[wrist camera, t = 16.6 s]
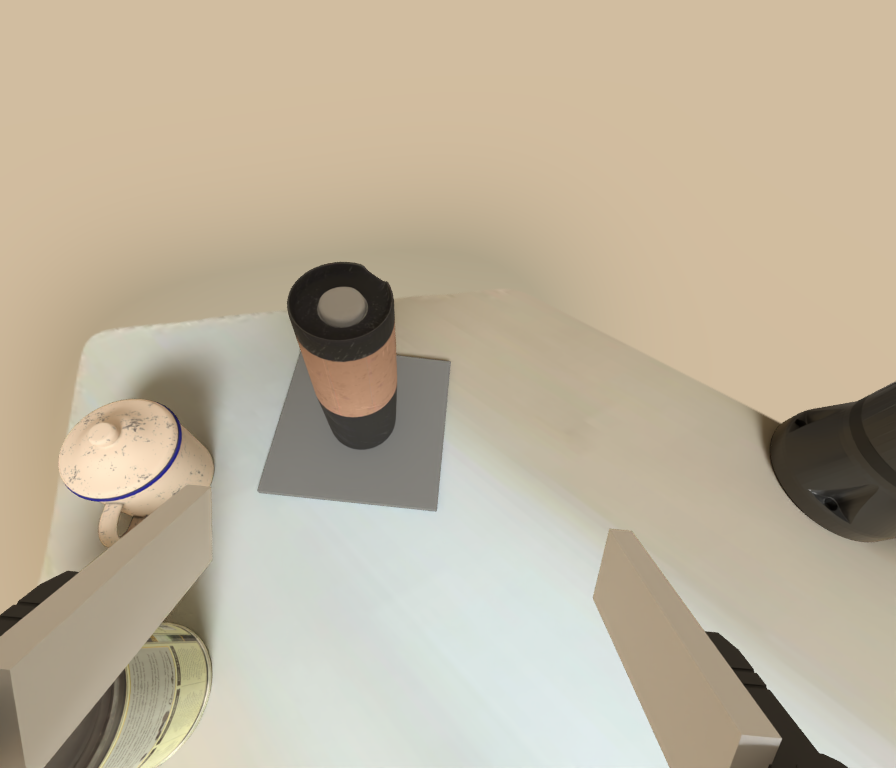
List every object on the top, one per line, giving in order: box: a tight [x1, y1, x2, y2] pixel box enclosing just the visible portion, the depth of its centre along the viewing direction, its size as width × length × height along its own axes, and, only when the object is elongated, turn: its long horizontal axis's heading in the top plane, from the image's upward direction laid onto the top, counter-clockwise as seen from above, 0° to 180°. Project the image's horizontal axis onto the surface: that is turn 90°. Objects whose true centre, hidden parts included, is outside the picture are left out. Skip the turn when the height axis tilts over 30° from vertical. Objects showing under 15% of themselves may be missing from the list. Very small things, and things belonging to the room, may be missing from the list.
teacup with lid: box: [58, 399, 214, 548], centre depth 38 cm, size 12×9×12 cm
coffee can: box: [44, 623, 212, 768], centre depth 29 cm, size 10×10×14 cm
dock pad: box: [257, 352, 451, 511], centre depth 48 cm, size 18×18×1 cm
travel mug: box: [287, 262, 397, 450], centre depth 39 cm, size 8×8×20 cm
